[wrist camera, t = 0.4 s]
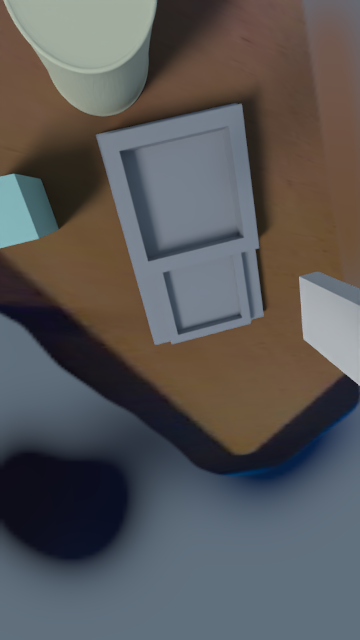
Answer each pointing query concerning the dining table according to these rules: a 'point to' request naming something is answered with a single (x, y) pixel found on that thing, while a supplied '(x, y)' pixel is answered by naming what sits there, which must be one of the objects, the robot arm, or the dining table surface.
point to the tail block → (24, 210)
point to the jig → (188, 220)
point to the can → (90, 48)
